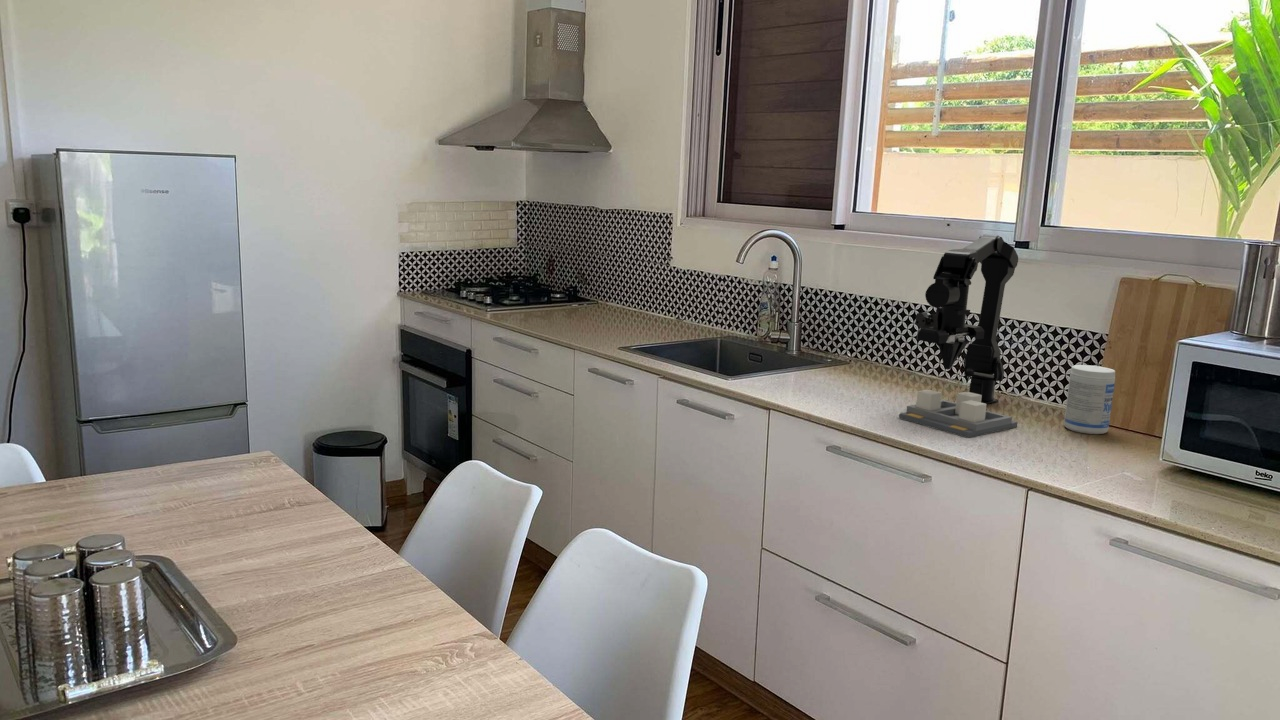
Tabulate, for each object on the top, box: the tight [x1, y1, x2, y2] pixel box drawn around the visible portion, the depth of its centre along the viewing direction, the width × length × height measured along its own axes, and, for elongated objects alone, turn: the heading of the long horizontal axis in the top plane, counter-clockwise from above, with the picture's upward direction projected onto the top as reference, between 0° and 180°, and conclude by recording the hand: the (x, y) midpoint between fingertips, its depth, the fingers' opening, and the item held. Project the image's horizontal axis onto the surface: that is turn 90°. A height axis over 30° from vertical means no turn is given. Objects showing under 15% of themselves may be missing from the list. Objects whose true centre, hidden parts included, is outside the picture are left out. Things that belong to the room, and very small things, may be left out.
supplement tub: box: [1063, 364, 1116, 435], centre depth 221 cm, size 10×10×15 cm
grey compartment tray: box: [898, 399, 1018, 439], centre depth 224 cm, size 19×19×3 cm
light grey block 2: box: [959, 400, 987, 423], centre depth 216 cm, size 4×4×5 cm
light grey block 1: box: [955, 391, 982, 415], centre depth 225 cm, size 4×4×5 cm
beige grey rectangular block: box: [915, 389, 943, 411], centre depth 226 cm, size 4×4×5 cm
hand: (947, 369), depth 228 cm, fingers closed
